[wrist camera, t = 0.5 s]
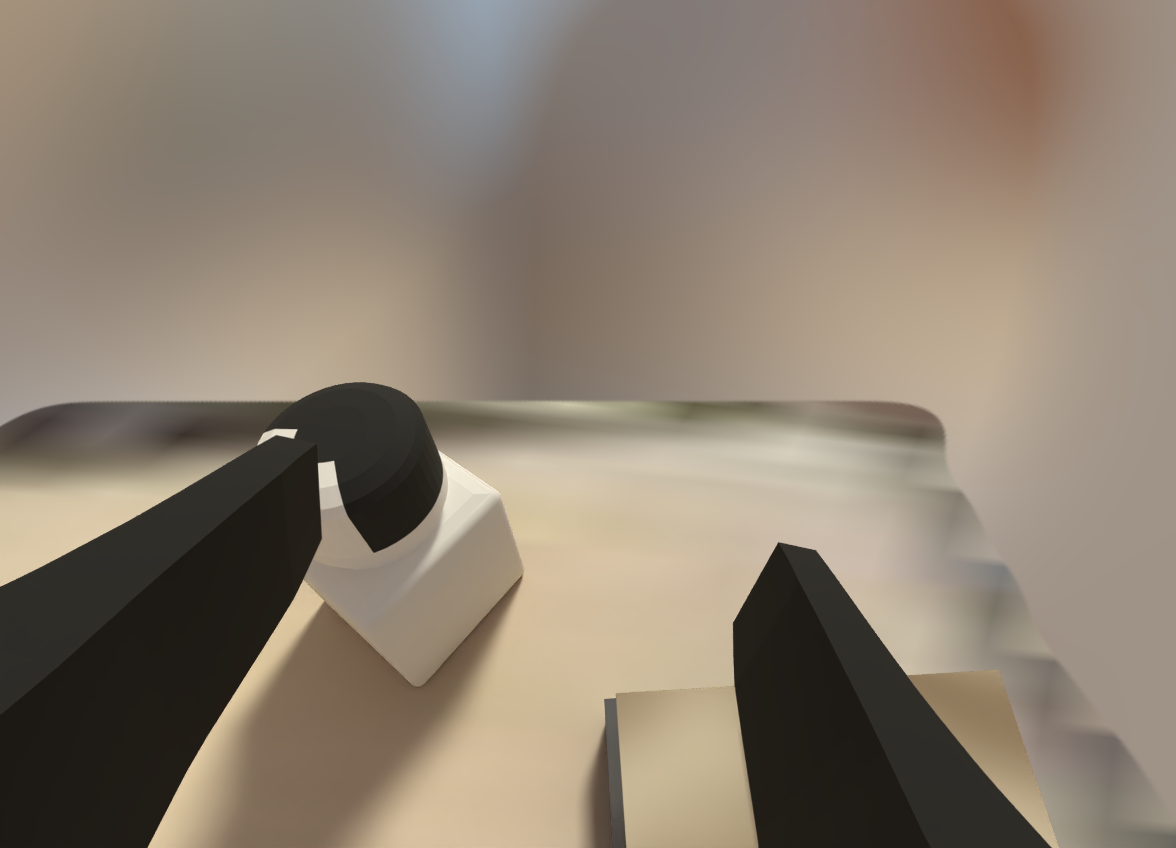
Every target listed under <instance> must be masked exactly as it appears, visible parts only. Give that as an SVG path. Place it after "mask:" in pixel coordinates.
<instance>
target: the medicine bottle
mask: <svg viewBox="0 0 1176 848" xmlns="http://www.w3.org/2000/svg"><path fill="white" fill-rule="evenodd" d="M275 435H279V436H284V437H288V438H293V439H298V440H302V441H307V442H312V443H316V444H317V455H318V474H319V492H320V510H321V528H322V540H321V542H320V544H319V547H318V549H317V551H316V553H315V555H314V558H313V560H312V562H311V564H310V566H309V568H308V571H307V573H306V575H305V577H304V580H305V581H306V582H307V583H308V585H309V586H310V587H311V588H312V589H313V590H314V591H315V592H316V593H317V594H318V595H319V596H320V597H321V598H322V599H323V600H324V601H325V602H326V603H327V604H328V605H329V606H330V607H331V608H332V609H333V610H334V611H335V612H336V613H337V614H339V615H340V616H341V617H342V618H343V619H344V620H345V621H346V622H347V623H348V624H349V625H350V626H351V627H352V628H353V629H354V630H355V631H356V632H357V633H358V634H359V635H360V636H361V637H363V638H364V639H365V640H366V641H367V642H368V643H369V644H370V645H371V646H372V647H373V648H374V649H375V650H376V651H377V652H378V653H379V654H380V655H381V656H382V657H383V658H384V659H386V660H387V661H388V662H389V663H390V664H391V665H392V666H393V667H394V668H395V669H396V670H397V671H398V672H399V673H400V674H401V675H402V676H403V677H404V678H405V679H406V680H407V681H409V682H410V683H411V684H412V685H413V686H415V687H420V686H422V685H424V684H425V683H426V682H427V681H428V680H429V678H430V677H431V676H432V675H433V674H434V673H435V672H436V671H437V669H438V668H439V667H440V666H441V665H442V664H443V663H444V662H445V661H446V659H447V658H448V657H449V656H450V655H451V654H452V653H453V652H454V650H455V649H456V648H457V647H458V646H459V645H460V644H461V643H462V642H463V640H464V639H465V638H466V637H467V636H468V635H469V634H470V633H471V631H472V630H473V629H474V628H475V627H476V626H477V625H478V624H479V623H480V621H481V620H482V619H483V618H484V617H485V616H486V615H487V614H488V612H489V611H490V610H491V609H492V608H493V607H494V606H495V605H496V604H497V602H498V601H499V600H500V599H501V598H502V597H503V596H504V595H505V593H506V592H507V591H508V590H509V589H510V588H511V587H512V586H513V585H514V583H515V582H516V581H517V580H518V579H519V578H520V577H521V576H522V574H523V572H524V566H523V562H522V559H521V556H520V553H519V550H518V547H517V544H516V541H515V537H514V534H513V531H512V528H511V525H510V522H509V519H508V516H507V512H506V509H505V506H504V503H503V500H502V497H501V495H500V493H499V492H498V491H497V490H495V489H494V488H492V487H491V486H489V485H488V484H486V483H485V482H484V481H482V480H481V479H479V478H478V477H476V476H475V475H473V474H472V473H470V472H469V471H467V470H466V469H465V468H463V467H462V466H460V465H459V464H457V463H456V462H454V461H453V460H451V459H450V458H448V457H447V456H446V455H444V454H443V453H441V452H440V451H438V450H437V448H436V445H435V443H434V441H433V438H432V436H431V433H430V431H429V429H428V426H427V424H426V422H425V419H424V417H423V415H422V413H421V411H420V409H419V407H418V406H417V405H416V403H415V402H414V401H413V400H412V399H411V398H409V397H408V396H407V395H406V394H404V393H402V392H401V391H399V390H396V389H394V388H391V387H388V386H384V385H379V384H374V383H365V382H359V383H358V382H356V383H345V384H340V385H334V386H331V387H328V388H324V389H322V390H319V391H317V392H314V393H312V394H310V395H308V396H306V397H304V398H302V399H300V400H299V401H297V402H295V403H294V404H292V405H291V406H290V407H288V408H287V409H286V410H284V411H283V412H282V413H281V414H280V415H279V416H278V417H277V418H276V419H275V420H274V421H273V422H272V423H271V424H270V425H269V427H268V428H267V429H266V431H265V432H264V434H263V435H262V437H261V439H260V441H259V443H258V445H259V444H261V443H263V442H265V441H266V440H268V439H270V438H272V437H273V436H275ZM258 445H257V446H258Z"/></svg>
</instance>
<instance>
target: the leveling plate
mask: <svg viewBox="0 0 1176 848" xmlns="http://www.w3.org/2000/svg"><path fill="white" fill-rule="evenodd" d="M907 676H908V678H909V679H910V680H911V682H912V683H913V684H914V686H915V687H916V688H917V690H918V691H919V692H920V693H921V695H922V696H923V697H924V699H925V700H926V701H927V702H928V704H929V705H930V706H931V708H932V709H933V710H934V711H935V713H936V714H937V715H938V716H939V718H940V719H941V720H942V721H943V723H944V724H945V725H946V726H947V728H948V729H949V730H950V731H951V732H952V734H953V735H954V736H955V737H956V739H957V740H958V741H959V742H960V744H961V745H962V746H963V747H964V748H965V750H966V751H967V752H968V753H969V755H970V756H971V757H972V758H973V760H974V761H975V762H976V763H977V764H978V765H979V767H980V768H981V769H982V770H983V771H984V772H985V774H986V775H987V776H988V777H989V778H990V779H991V781H992V782H993V783H994V784H995V785H996V786H997V788H998V789H999V790H1000V791H1001V792H1002V793H1003V794H1004V795H1005V796H1006V798H1007V799H1008V800H1009V801H1010V802H1011V803H1012V804H1013V805H1014V806H1015V808H1016V809H1017V810H1018V811H1019V812H1020V813H1021V814H1022V815H1023V816H1024V818H1025V819H1026V820H1027V821H1028V822H1029V823H1030V824H1031V825H1032V826H1033V827H1034V829H1035V830H1036V831H1037V832H1038V833H1039V834H1040V835H1041V836H1042V837H1043V839H1044V840H1045V841H1046V842H1047V843H1048V844H1049V845H1050V846H1051V847H1052V848H1059V846H1058V843H1057V841H1056V838H1055V835H1054V832H1053V829H1052V826H1051V823H1050V820H1049V817H1048V814H1047V811H1046V808H1045V805H1044V802H1043V799H1042V796H1041V794H1040V791H1039V788H1038V785H1037V782H1036V779H1035V776H1034V773H1033V770H1032V767H1031V764H1030V761H1029V758H1028V755H1027V752H1026V749H1025V747H1024V744H1023V741H1022V738H1021V735H1020V732H1019V729H1018V726H1017V723H1016V720H1015V717H1014V714H1013V711H1012V708H1011V705H1010V702H1009V700H1008V697H1007V694H1006V691H1005V688H1004V685H1003V682H1002V679H1001V676H1000V673H999V670H988V671H972V672H955V673H939V674H923V675H907ZM616 702H617V717H618V732H619V747H620V761H621V776H622V791H623V805H624V820H625V835H626V848H759V847H758V839H757V832H756V826H755V819H754V813H753V806H752V800H751V793H750V787H749V780H748V774H747V767H746V761H745V754H744V748H743V741H742V734H741V728H740V721H739V714H738V707H737V700H736V693H735V686H728V687H712V688H696V689H680V690H663V691H647V692H631V693H616Z"/></svg>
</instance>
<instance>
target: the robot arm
mask: <svg viewBox="0 0 1176 848" xmlns="http://www.w3.org/2000/svg"><path fill="white" fill-rule="evenodd" d="M321 540H322V528H321V510H320V492H319V474H318V455H317V444H316V443H312V442H307V441H302V440H298V439H293V438H288V437H284V436H279V435H275V436H273V437H272V438H270V439H268V440H266V441H265V442H263V443H261V444H259V445H258V446H256V447H254V448H253V449H251V450H249V451H248V452H246V453H244V454H243V455H241V456H239V457H237V458H236V459H234V460H232V461H231V462H229V463H227V464H226V465H224V466H222V467H221V468H219V469H217V470H216V471H214V472H212V473H211V474H209V475H207V476H205V477H204V478H202V479H200V480H199V481H197V482H195V483H194V484H192V485H190V486H189V487H187V488H185V489H184V490H182V491H180V492H178V493H177V494H175V495H173V496H171V497H170V498H168V499H166V500H164V501H163V502H161V503H159V504H157V505H156V506H154V507H152V508H150V509H149V510H147V511H145V512H143V513H142V514H140V515H138V516H136V517H135V518H133V519H131V520H129V521H128V522H126V523H124V524H122V525H120V526H118V527H116V528H114V529H113V530H111V531H109V532H107V533H105V534H103V535H101V536H99V537H97V538H95V539H94V540H92V541H90V542H88V543H86V544H84V545H82V546H80V547H78V548H76V549H75V550H73V551H71V552H69V553H67V554H65V555H63V556H61V557H59V558H58V559H56V560H54V561H52V562H50V563H48V564H46V565H44V566H42V567H40V568H38V569H36V570H34V571H32V572H30V573H28V574H26V575H24V576H22V577H20V578H18V579H16V580H14V581H12V582H9V583H7V584H5V585H3V586H1V587H0V848H148V846H149V844H150V842H151V840H152V838H153V836H154V834H155V832H156V830H157V828H158V826H159V824H160V822H161V820H162V818H163V816H164V815H165V813H166V811H167V809H168V807H169V805H170V803H171V801H172V799H173V797H174V795H175V793H176V791H177V789H178V787H179V785H180V783H181V782H182V780H183V778H184V776H185V774H186V772H187V770H188V768H189V767H190V765H191V763H192V761H193V760H194V758H195V756H196V755H197V753H198V751H199V749H200V748H201V746H202V744H203V743H204V741H205V739H206V737H207V736H208V734H209V733H210V731H211V730H212V728H213V726H214V725H215V723H216V722H217V720H218V719H219V717H220V715H221V714H222V712H223V711H224V709H225V707H226V706H227V704H228V703H229V701H230V700H231V698H232V696H233V695H234V693H235V692H236V690H237V689H238V687H239V685H240V684H241V682H242V681H243V679H244V677H245V676H246V674H247V673H248V671H249V670H250V668H251V666H252V665H253V663H254V662H255V660H256V659H257V657H258V655H259V654H260V652H261V651H262V649H263V648H264V646H265V644H266V643H267V641H268V640H269V638H270V636H271V635H272V633H273V632H274V630H275V628H276V627H277V625H278V624H279V622H280V620H281V619H282V617H283V616H284V614H285V612H286V611H287V609H288V607H289V606H290V604H291V602H292V601H293V599H294V597H295V595H296V593H297V591H298V589H299V587H300V585H301V583H302V581H303V579H304V577H305V575H306V573H307V571H308V568H309V566H310V564H311V562H312V560H313V558H314V555H315V553H316V551H317V549H318V547H319V544H320V542H321ZM733 658H734V683H735V693H736V700H737V707H738V714H739V721H740V728H741V734H742V741H743V748H744V754H745V761H746V767H747V774H748V780H749V787H750V793H751V800H752V806H753V813H754V819H755V826H756V832H757V839H758V847H759V848H1052V847H1051V846H1050V845H1049V844H1048V843H1047V842H1046V841H1045V840H1044V839H1043V837H1042V836H1041V835H1040V834H1039V833H1038V832H1037V831H1036V830H1035V829H1034V827H1033V826H1032V825H1031V824H1030V823H1029V822H1028V821H1027V820H1026V819H1025V818H1024V816H1023V815H1022V814H1021V813H1020V812H1019V811H1018V810H1017V809H1016V808H1015V806H1014V805H1013V804H1012V803H1011V802H1010V801H1009V800H1008V799H1007V798H1006V796H1005V795H1004V794H1003V793H1002V792H1001V791H1000V790H999V789H998V788H997V786H996V785H995V784H994V783H993V782H992V781H991V779H990V778H989V777H988V776H987V775H986V774H985V772H984V771H983V770H982V769H981V768H980V767H979V765H978V764H977V763H976V762H975V761H974V760H973V758H972V757H971V756H970V755H969V753H968V752H967V751H966V750H965V748H964V747H963V746H962V745H961V744H960V742H959V741H958V740H957V739H956V737H955V736H954V735H953V734H952V732H951V731H950V730H949V729H948V728H947V726H946V725H945V724H944V723H943V721H942V720H941V719H940V718H939V716H938V715H937V714H936V713H935V711H934V710H933V709H932V708H931V706H930V705H929V704H928V702H927V701H926V700H925V699H924V697H923V696H922V695H921V693H920V692H919V691H918V690H917V688H916V687H915V686H914V684H913V683H912V682H911V680H910V679H909V678H908V676H907V675H906V674H905V672H904V671H903V670H902V668H901V667H900V666H899V664H898V663H897V662H896V660H895V659H894V658H893V656H892V655H891V653H890V652H889V651H888V649H887V648H886V647H885V645H884V644H883V643H882V641H881V640H880V638H879V637H878V636H877V634H876V633H875V632H874V630H873V629H872V627H871V626H870V625H869V623H868V622H867V620H866V619H865V618H864V616H863V615H862V613H861V612H860V611H859V609H858V608H857V606H856V605H855V604H854V602H853V601H852V599H851V598H850V596H849V595H848V594H847V592H846V591H845V589H844V588H843V587H842V585H841V584H840V582H839V581H838V580H837V578H836V577H835V575H834V574H833V573H832V571H831V570H830V569H829V567H828V566H827V564H826V563H825V562H824V560H823V559H822V558H821V557H820V555H819V554H818V553H817V551H816V550H812V549H807V548H802V547H798V546H793V545H788V544H784V543H779V542H778V544H777V546H776V547H775V549H774V551H773V553H772V555H771V556H770V558H769V560H768V562H767V563H766V565H765V567H764V569H763V571H762V572H761V574H760V576H759V578H758V580H757V581H756V583H755V585H754V587H753V588H752V590H751V592H750V594H749V596H748V597H747V599H746V601H745V603H744V604H743V606H742V608H741V610H740V612H739V613H738V615H737V617H736V619H735V620H734V622H733Z"/></svg>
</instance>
